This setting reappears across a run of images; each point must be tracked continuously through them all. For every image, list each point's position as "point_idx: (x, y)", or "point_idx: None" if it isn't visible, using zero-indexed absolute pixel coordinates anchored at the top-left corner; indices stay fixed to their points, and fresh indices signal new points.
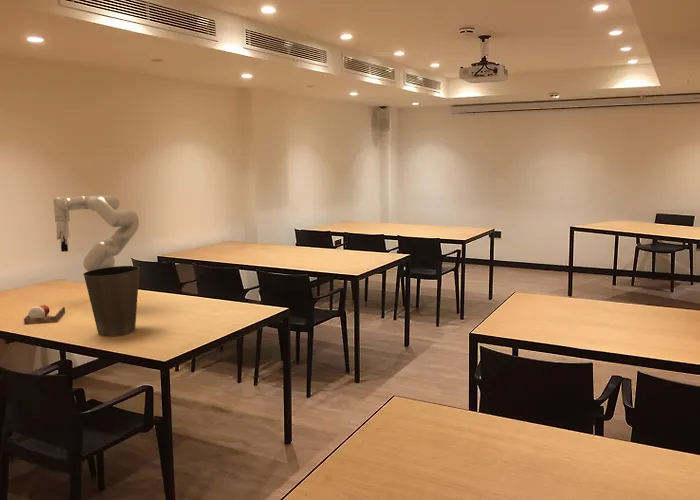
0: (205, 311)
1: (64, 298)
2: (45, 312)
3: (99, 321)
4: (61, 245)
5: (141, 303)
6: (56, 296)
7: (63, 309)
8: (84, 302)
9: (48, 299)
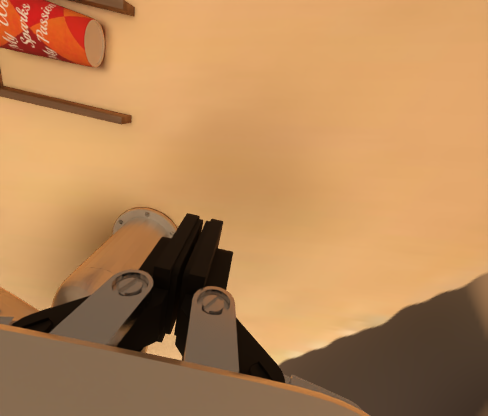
0: None
1: (375, 128)
2: (15, 50)
3: None
4: (159, 264)
5: None
6: (441, 97)
7: (99, 118)
8: (260, 189)
9: (400, 62)
